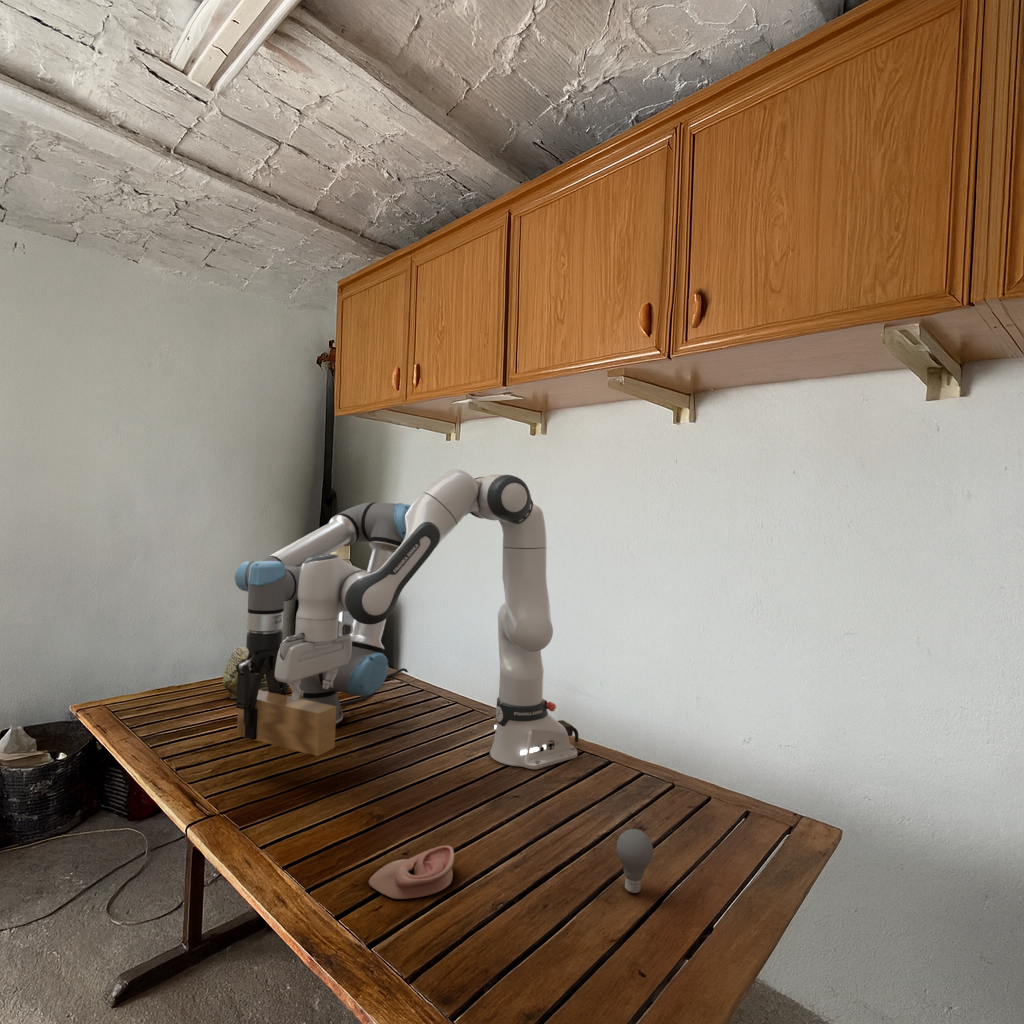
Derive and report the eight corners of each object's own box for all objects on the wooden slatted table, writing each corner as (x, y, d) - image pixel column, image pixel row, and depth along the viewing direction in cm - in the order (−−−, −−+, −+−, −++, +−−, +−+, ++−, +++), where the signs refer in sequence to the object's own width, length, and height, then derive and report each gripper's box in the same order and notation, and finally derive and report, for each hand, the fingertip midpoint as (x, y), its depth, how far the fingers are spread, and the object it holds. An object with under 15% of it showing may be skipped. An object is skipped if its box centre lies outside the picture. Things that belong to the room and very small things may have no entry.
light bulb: (610, 879, 108) (613, 822, 108) (644, 879, 109) (647, 822, 109) (619, 902, 102) (622, 840, 102) (655, 901, 103) (658, 840, 103)
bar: (236, 735, 141) (238, 695, 141) (255, 728, 146) (256, 689, 146) (317, 756, 132) (319, 713, 132) (334, 747, 137) (336, 706, 137)
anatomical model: (361, 868, 102) (389, 832, 113) (360, 893, 102) (388, 854, 113) (440, 882, 99) (460, 843, 110) (439, 907, 99) (459, 866, 110)
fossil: (218, 695, 195) (220, 647, 195) (278, 685, 208) (279, 640, 207) (228, 703, 189) (230, 653, 188) (289, 692, 201) (290, 645, 201)
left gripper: (245, 640, 132) (241, 751, 132) (306, 625, 149) (303, 723, 149) (218, 635, 135) (214, 744, 135) (282, 622, 152) (278, 718, 152)
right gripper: (293, 640, 125) (289, 709, 126) (358, 624, 144) (354, 685, 144) (269, 635, 128) (265, 703, 128) (335, 621, 147) (332, 680, 147)
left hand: (261, 733), depth 142 cm, fingers closed on bar, 5 cm apart
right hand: (312, 693), depth 136 cm, fingers open, 8 cm apart
